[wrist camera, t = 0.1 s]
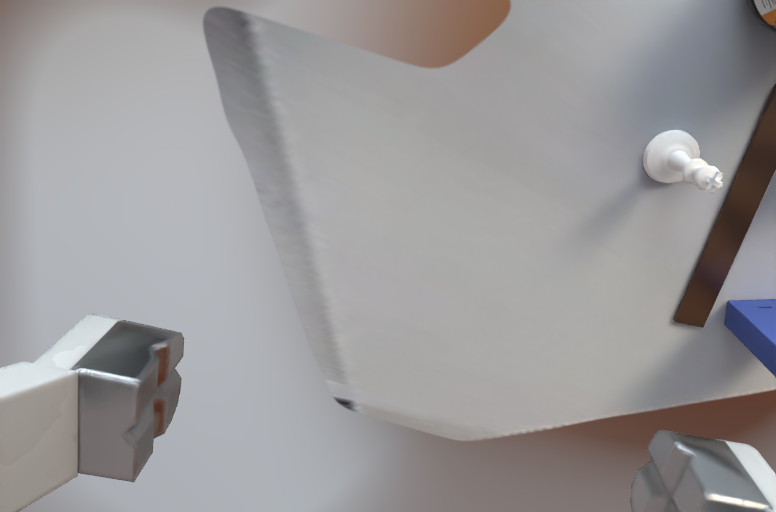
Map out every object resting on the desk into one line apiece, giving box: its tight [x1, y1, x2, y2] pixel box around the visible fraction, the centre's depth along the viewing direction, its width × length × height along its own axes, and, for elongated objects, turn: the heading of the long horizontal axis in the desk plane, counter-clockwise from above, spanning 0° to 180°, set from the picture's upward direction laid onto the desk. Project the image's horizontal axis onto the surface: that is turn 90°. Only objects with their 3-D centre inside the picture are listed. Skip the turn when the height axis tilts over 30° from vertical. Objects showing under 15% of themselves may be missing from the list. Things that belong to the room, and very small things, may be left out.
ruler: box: [674, 84, 776, 327], centre depth 57 cm, size 24×3×1 cm, turn 169°
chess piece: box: [643, 130, 724, 194], centre depth 51 cm, size 5×5×10 cm
